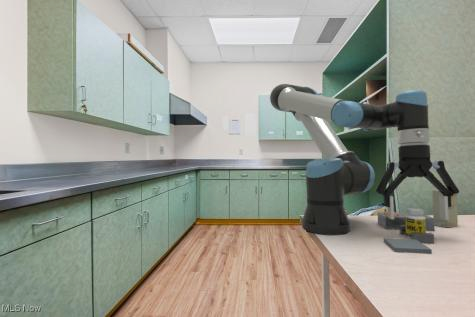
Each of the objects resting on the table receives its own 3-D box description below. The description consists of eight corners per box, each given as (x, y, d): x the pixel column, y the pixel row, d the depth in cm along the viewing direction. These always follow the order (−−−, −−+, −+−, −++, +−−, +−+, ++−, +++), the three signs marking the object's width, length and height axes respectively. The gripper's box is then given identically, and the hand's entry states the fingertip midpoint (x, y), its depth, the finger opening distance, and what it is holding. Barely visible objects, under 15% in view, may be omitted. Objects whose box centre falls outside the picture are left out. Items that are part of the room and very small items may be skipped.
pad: (394, 251, 63) (394, 247, 63) (383, 241, 71) (383, 238, 71) (431, 253, 61) (431, 249, 61) (416, 243, 69) (416, 239, 69)
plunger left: (387, 225, 86) (387, 213, 86) (384, 222, 89) (384, 211, 89) (398, 225, 85) (398, 213, 85) (394, 223, 88) (394, 211, 88)
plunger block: (385, 229, 84) (385, 217, 84) (377, 223, 91) (377, 212, 91) (434, 230, 81) (434, 218, 81) (422, 224, 88) (421, 213, 88)
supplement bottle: (404, 238, 74) (403, 209, 74) (407, 234, 77) (406, 206, 77) (424, 241, 70) (424, 211, 70) (427, 237, 74) (426, 208, 74)
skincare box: (447, 228, 84) (446, 190, 84) (432, 225, 88) (431, 189, 88) (458, 225, 86) (457, 189, 86) (443, 223, 90) (442, 188, 90)
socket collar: (434, 243, 69) (433, 234, 69) (414, 242, 70) (413, 233, 70) (417, 233, 78) (417, 225, 78) (399, 233, 79) (399, 225, 79)
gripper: (370, 145, 73) (373, 220, 72) (472, 141, 68) (477, 222, 67) (363, 147, 80) (366, 215, 80) (455, 143, 75) (459, 216, 74)
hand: (417, 218), depth 73 cm, fingers open, 13 cm apart
